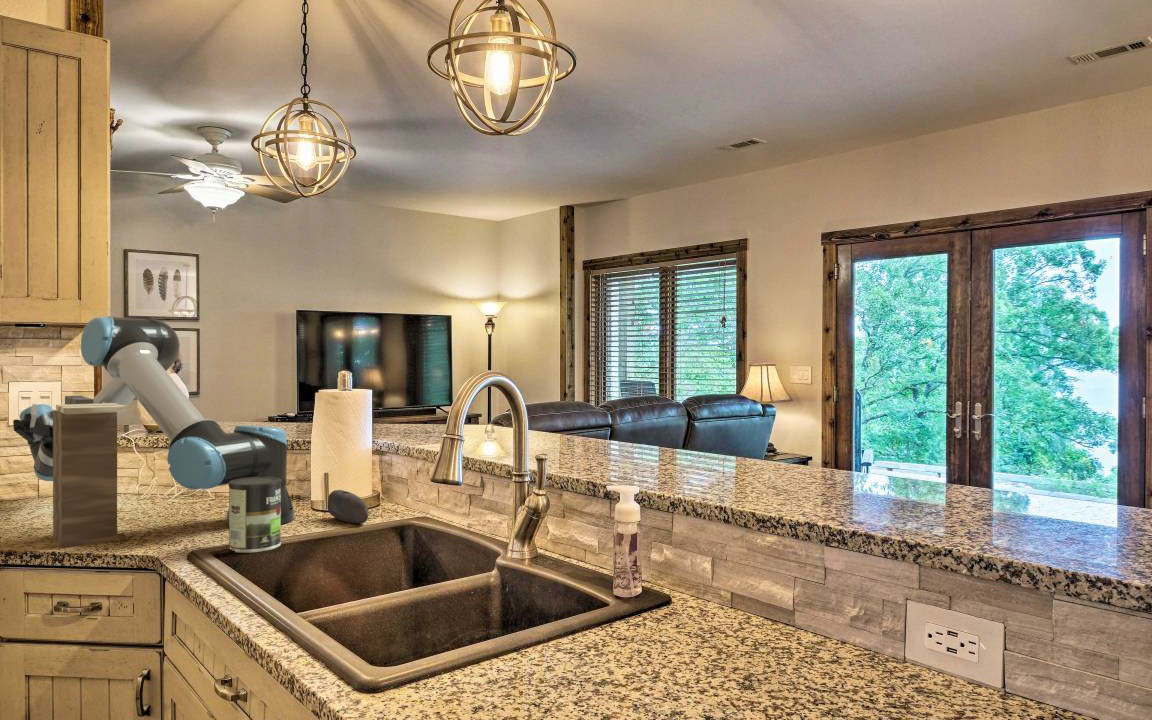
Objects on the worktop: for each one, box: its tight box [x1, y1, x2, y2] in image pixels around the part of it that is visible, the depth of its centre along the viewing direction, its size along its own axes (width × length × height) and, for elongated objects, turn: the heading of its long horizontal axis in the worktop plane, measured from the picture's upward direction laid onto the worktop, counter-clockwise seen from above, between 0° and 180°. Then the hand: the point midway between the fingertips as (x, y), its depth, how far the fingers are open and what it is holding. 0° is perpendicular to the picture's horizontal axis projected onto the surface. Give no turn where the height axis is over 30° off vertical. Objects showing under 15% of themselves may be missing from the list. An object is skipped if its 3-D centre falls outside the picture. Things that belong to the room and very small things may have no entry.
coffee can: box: [227, 477, 282, 554], centre depth 159 cm, size 10×10×14 cm
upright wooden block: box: [52, 409, 118, 549], centre depth 164 cm, size 12×10×28 cm
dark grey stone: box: [326, 489, 370, 524], centre depth 183 cm, size 15×5×7 cm, turn 45°
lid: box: [55, 395, 127, 414], centre depth 165 cm, size 29×11×2 cm, turn 42°
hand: (70, 408), depth 176 cm, fingers open, 13 cm apart
